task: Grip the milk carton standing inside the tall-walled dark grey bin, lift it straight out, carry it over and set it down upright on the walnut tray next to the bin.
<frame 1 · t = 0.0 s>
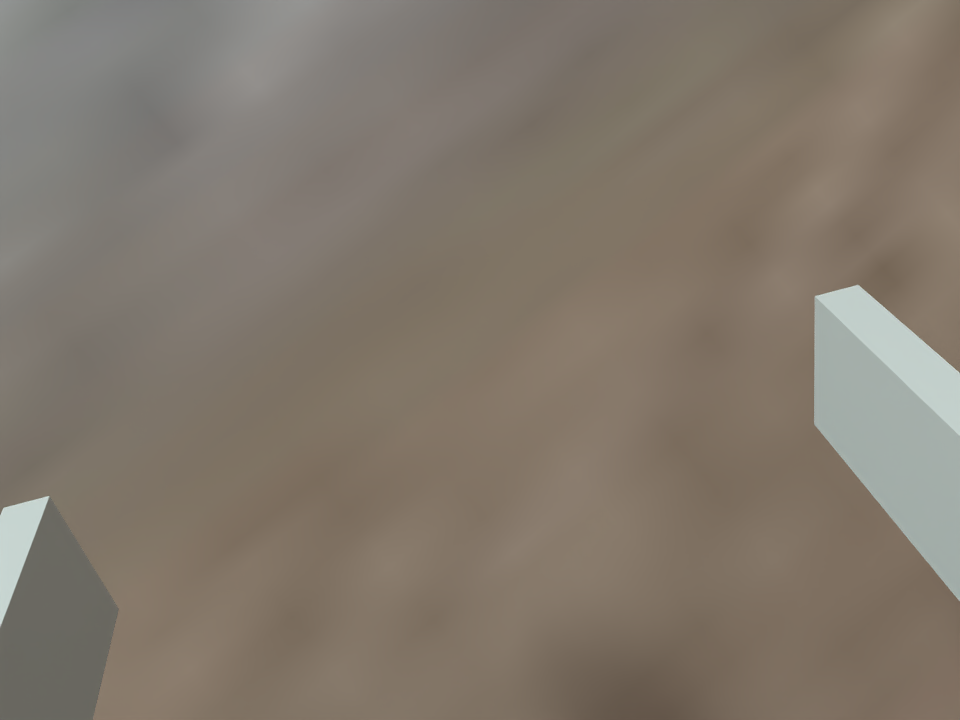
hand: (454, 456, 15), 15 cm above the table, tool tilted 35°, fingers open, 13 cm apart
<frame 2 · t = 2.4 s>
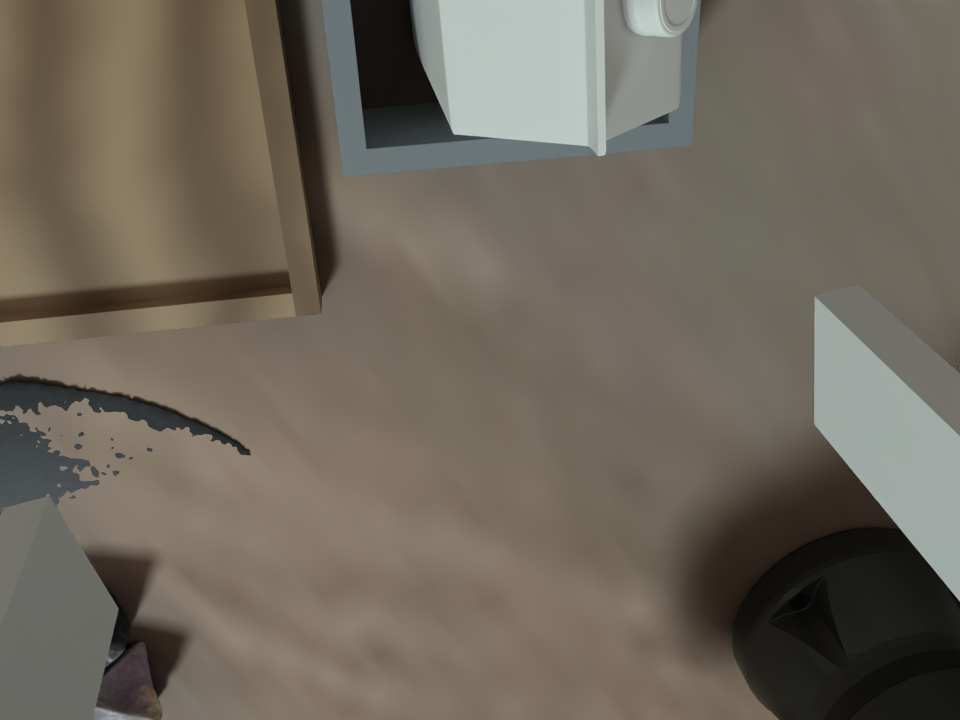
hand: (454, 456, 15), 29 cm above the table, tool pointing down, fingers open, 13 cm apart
mineral sample: (60, 629, 53), on the table
tray: (64, 132, 40), on the table
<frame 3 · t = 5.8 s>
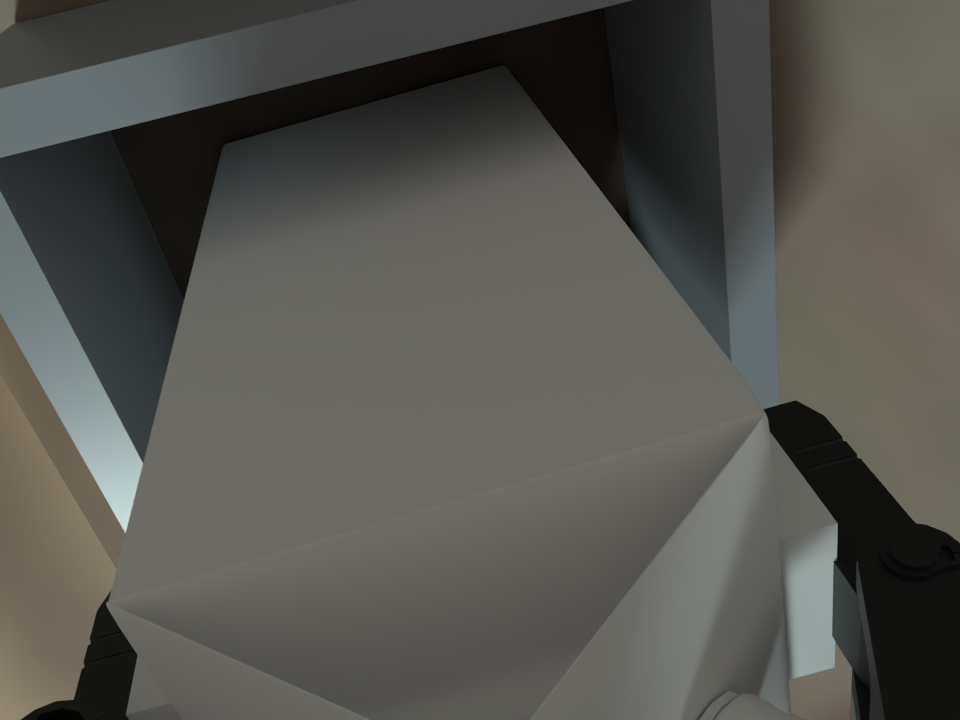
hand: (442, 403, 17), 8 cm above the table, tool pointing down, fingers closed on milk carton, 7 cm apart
milk carton: (402, 228, 24), resting in bin, touching gripper
bin: (403, 232, 24), on the table
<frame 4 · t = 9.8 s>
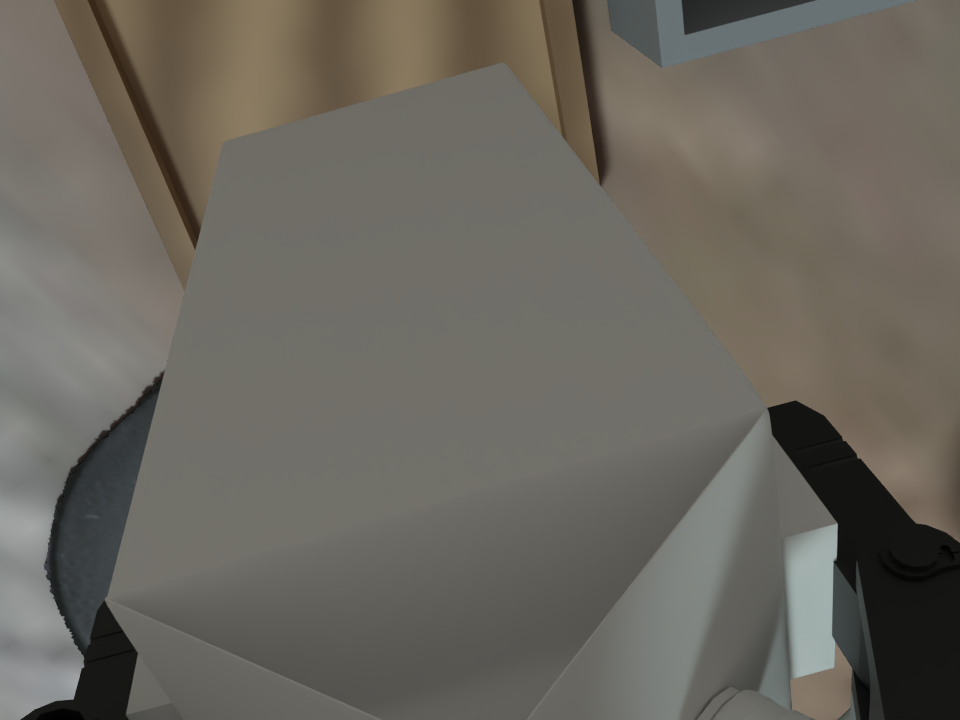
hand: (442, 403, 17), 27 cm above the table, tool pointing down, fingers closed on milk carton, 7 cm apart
mineral sample: (356, 564, 56), on the table
milk carton: (402, 226, 24), point 19 cm above the table, touching gripper
tray: (348, 76, 40), on the table
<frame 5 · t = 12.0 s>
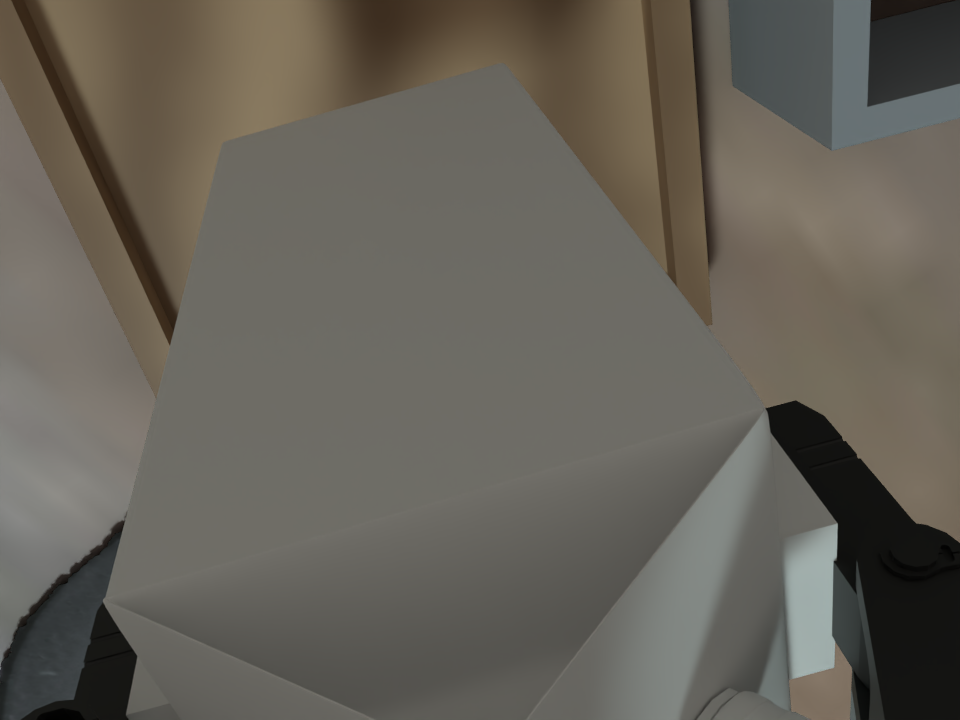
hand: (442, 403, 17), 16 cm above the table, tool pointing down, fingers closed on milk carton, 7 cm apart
mineral sample: (374, 712, 46), on the table
milk carton: (402, 226, 24), point 7 cm above the table, touching gripper
tray: (386, 143, 30), on the table
when the fingers open (11 cm above the table, at t = 13.9 s): milk carton drops 1 cm, resting on tray.
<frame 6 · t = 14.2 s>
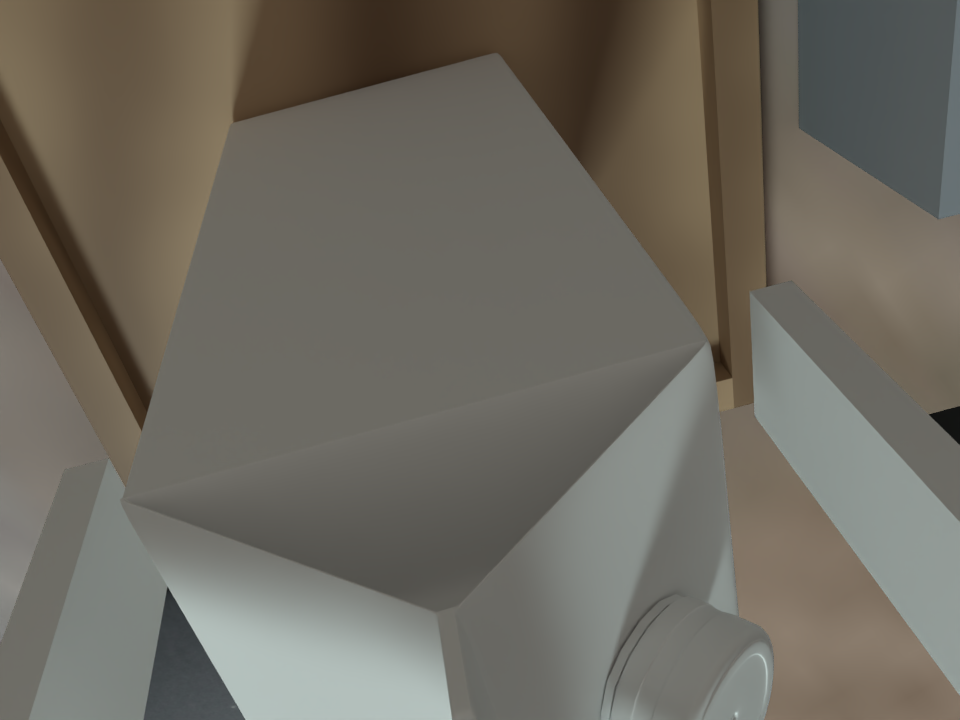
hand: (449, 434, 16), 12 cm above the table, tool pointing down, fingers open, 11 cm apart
milk carton: (399, 208, 25), point 1 cm above the table, touching tray
tray: (395, 197, 26), on the table
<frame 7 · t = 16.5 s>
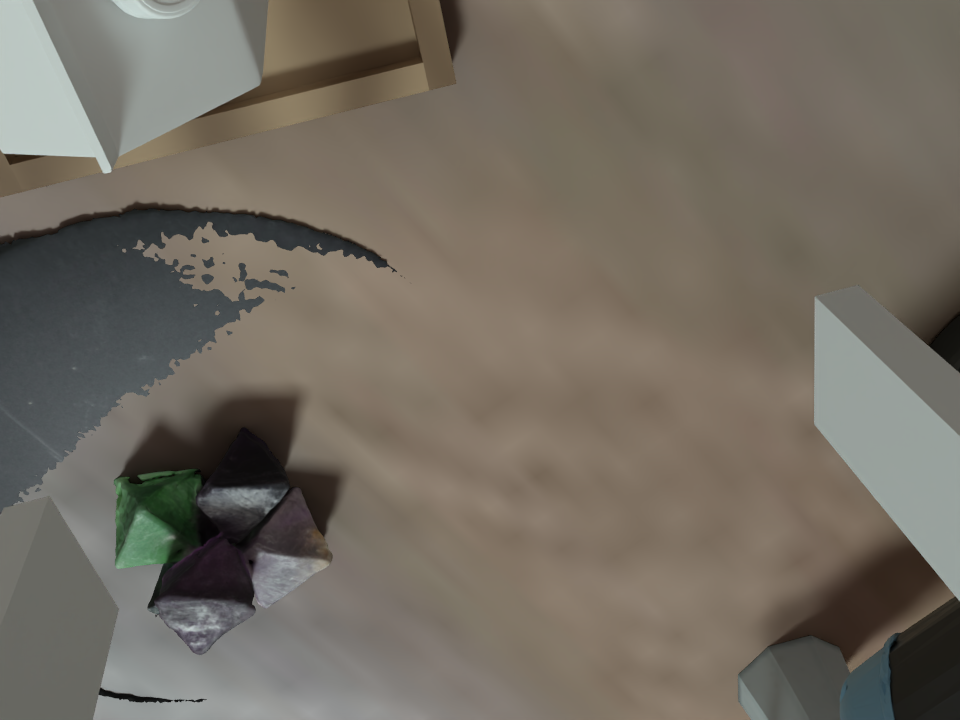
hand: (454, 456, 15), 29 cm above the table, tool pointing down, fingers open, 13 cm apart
mineral sample: (211, 486, 51), on the table
coffee maker: (773, 676, 70), on the table
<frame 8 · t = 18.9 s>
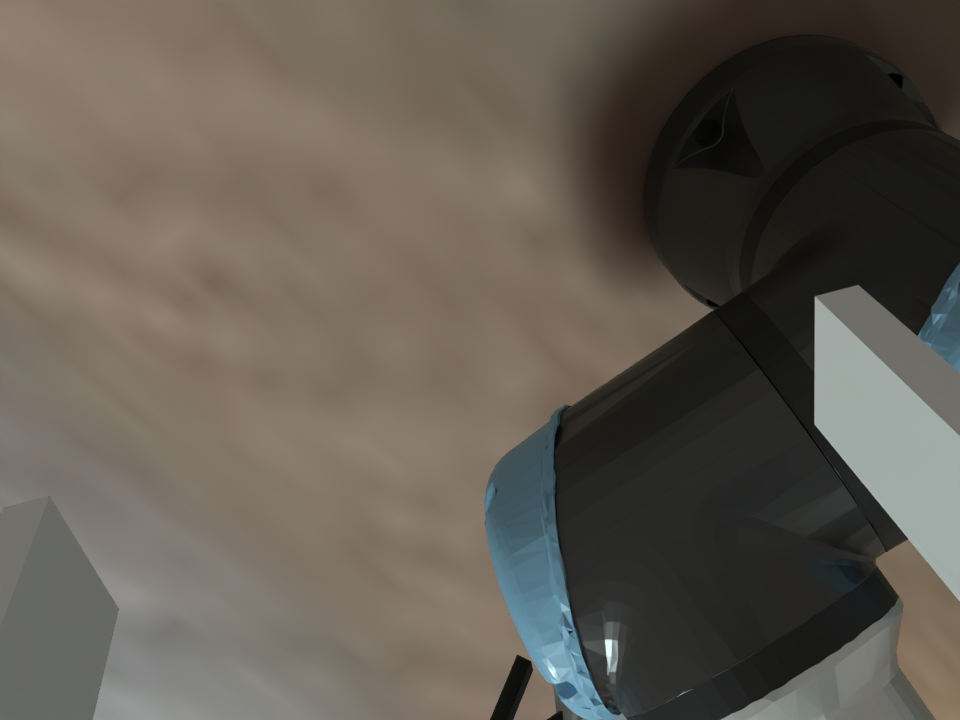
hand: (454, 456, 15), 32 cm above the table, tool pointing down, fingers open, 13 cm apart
coffee maker: (558, 560, 62), on the table
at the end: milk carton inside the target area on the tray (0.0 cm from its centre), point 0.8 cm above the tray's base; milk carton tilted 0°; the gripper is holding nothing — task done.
